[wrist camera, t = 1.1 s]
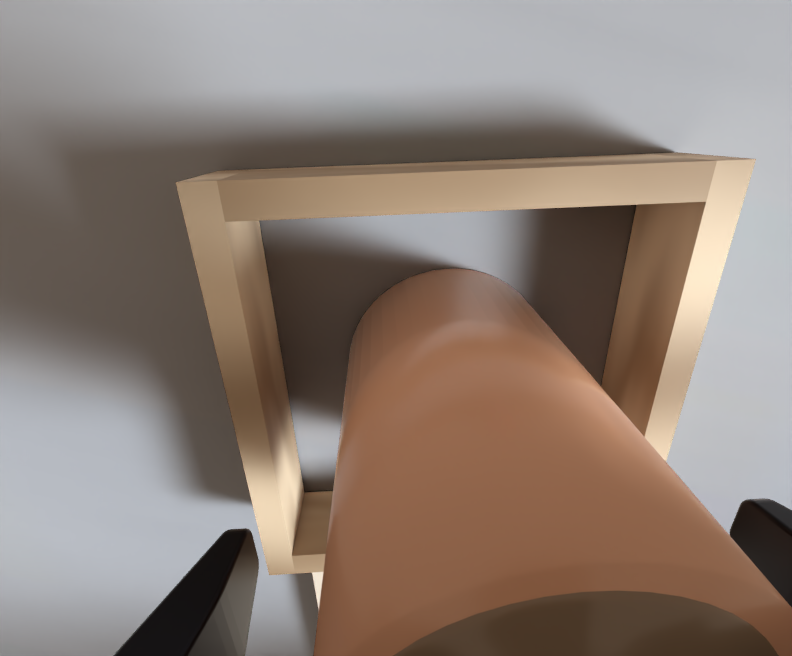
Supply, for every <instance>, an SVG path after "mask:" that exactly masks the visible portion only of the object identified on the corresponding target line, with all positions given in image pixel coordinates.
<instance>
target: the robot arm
mask: <svg viewBox="0 0 792 656" xmlns="http://www.w3.org/2000/svg"><path fill="white" fill-rule="evenodd" d="M730 537H731V538H732V539H733V540H734V541H735V542H736V544H737V545H738V546H739V547H740V548H741V549H742V550H743V552H744V553H745V554H746V555H747V556H748V557H749V559H750V560H751V561H752V562H753V563H754V564H755V566H756V567H757V568H758V569H759V570H760V571H761V572H762V574H763V575H764V576H765V577H766V578H767V579H768V581H769V582H770V583H771V584H772V585H773V586H774V588H775V589H776V590H777V591H778V592H779V593H780V594H781V596H782V597H783V598H784V599H785V600H786V601H787V603H788V604H789V605H790V606H791V607H792V510H790V509H788V508H786V507H784V506H782V505H781V504H779V503H777V502H775V501H773V500H770V499H748V500H745V501H743V502H742V503H741V505H740V507H739V509H738V512H737V514H736V517H735V519H734V521H733V524H732V526H731V529H730ZM258 569H259V562H258V556H257V552H256V548H255V544H254V540H253V536H252V533H251V531H250V530H249V529H230V530H227V531H225V532H224V533H223V534H222V535H221V536H220V537H219V538H218V539H217V541H216V542H215V543H214V544H213V545H212V546H211V547H210V548H209V550H208V551H207V552H206V553H205V554H204V555H203V556H202V557H201V558H200V560H199V561H198V562H197V563H196V564H195V565H194V566H193V567H192V569H191V570H190V571H189V572H188V573H187V574H186V575H185V576H184V577H183V579H182V580H181V581H180V582H179V583H178V584H177V585H176V586H175V588H174V589H173V590H172V591H171V592H170V593H169V594H168V595H167V596H166V598H165V599H164V600H163V601H162V602H161V603H160V604H159V605H158V607H157V608H156V609H155V610H154V611H153V612H152V613H151V614H150V615H149V617H148V618H147V619H146V620H145V621H144V622H143V623H142V624H141V626H140V627H139V628H138V629H137V630H136V631H135V632H134V633H133V634H132V636H131V637H130V638H129V639H128V640H127V641H126V642H125V643H124V645H123V646H122V647H121V648H120V649H119V650H118V651H117V652H116V653H115V655H114V656H245V651H246V645H247V639H248V632H249V626H250V620H251V614H252V608H253V602H254V595H255V589H256V583H257V577H258Z"/></svg>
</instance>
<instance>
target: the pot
mask: <svg viewBox="0 0 792 656" xmlns="http://www.w3.org/2000/svg"><path fill="white" fill-rule="evenodd" d="M313 656H792V607H791V606H790V605H789V604H788V603H787V601H786V600H785V599H784V598H783V597H782V596H781V594H780V593H779V592H778V591H777V590H776V589H775V588H774V586H773V585H772V584H771V583H770V582H769V581H768V579H767V578H766V577H765V576H764V575H763V574H762V572H761V571H760V570H759V569H758V568H757V567H756V566H755V564H754V563H753V562H752V561H751V560H750V559H749V557H748V556H747V555H746V554H745V553H744V552H743V550H742V549H741V548H740V547H739V546H738V545H737V544H736V542H735V541H734V540H733V539H732V538H731V537H730V535H729V534H728V533H727V532H726V531H725V530H724V528H723V527H722V526H721V525H720V524H719V523H718V522H717V520H716V519H715V518H714V517H713V516H712V515H711V513H710V512H709V511H708V510H707V509H706V508H705V507H704V505H703V504H702V503H701V502H700V501H699V500H698V498H697V497H696V496H695V495H694V494H693V493H692V491H691V490H690V489H689V488H688V487H687V486H686V485H685V483H684V482H683V481H682V480H681V479H680V478H679V476H678V475H677V474H676V473H675V472H674V471H673V469H672V468H671V467H670V466H669V465H668V464H667V463H666V461H665V460H664V459H663V458H662V457H661V456H660V454H659V453H658V452H657V451H656V450H655V449H654V447H653V446H652V445H651V444H650V443H649V442H648V441H647V439H646V438H645V437H644V436H643V435H642V434H641V432H640V431H639V430H638V429H637V428H636V427H635V425H634V424H633V423H632V422H631V421H630V420H629V419H628V417H627V416H626V415H625V414H624V413H623V412H622V410H621V409H620V408H619V407H618V406H617V405H616V404H615V402H614V401H613V400H612V399H611V398H610V397H609V395H608V394H607V393H606V392H605V391H604V390H603V388H602V387H601V386H600V385H599V384H598V383H597V382H596V380H595V379H594V378H593V377H592V376H591V375H590V373H589V372H588V371H587V370H586V369H585V368H584V366H583V365H582V364H581V363H580V362H579V361H578V360H577V358H576V357H575V356H574V355H573V354H572V353H571V351H570V350H569V349H568V348H567V347H566V346H565V344H564V343H563V342H562V341H561V340H560V339H559V338H558V336H557V335H556V334H555V333H554V332H553V331H552V329H551V328H550V327H549V326H548V325H547V324H546V322H545V321H544V320H543V319H542V318H541V317H540V316H539V314H538V313H537V312H536V311H535V310H534V309H533V307H532V306H531V305H530V304H529V303H528V302H527V301H526V299H525V298H524V297H523V296H522V295H521V294H520V293H519V292H518V291H516V290H515V289H514V288H513V287H511V286H510V285H509V284H507V283H505V282H504V281H502V280H500V279H498V278H496V277H494V276H491V275H489V274H486V273H482V272H478V271H474V270H468V269H459V268H456V269H439V270H432V271H428V272H424V273H420V274H417V275H414V276H412V277H410V278H407V279H405V280H403V281H401V282H399V283H398V284H396V285H394V286H392V287H391V288H390V289H388V290H387V291H386V292H384V293H383V294H382V295H381V296H379V297H378V298H377V299H376V300H375V301H374V302H373V303H372V304H371V306H370V307H369V308H368V310H367V311H366V312H365V313H364V315H363V317H362V318H361V320H360V322H359V323H358V325H357V328H356V330H355V333H354V335H353V339H352V343H351V347H350V355H349V363H348V371H347V380H346V388H345V396H344V405H343V413H342V421H341V430H340V438H339V446H338V455H337V463H336V471H335V480H334V488H333V496H332V505H331V513H330V521H329V530H328V538H327V546H326V555H325V563H324V571H323V580H322V588H321V596H320V605H319V613H318V621H317V630H316V638H315V646H314V655H313Z"/></svg>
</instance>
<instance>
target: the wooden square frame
mask: <svg viewBox="0 0 792 656" xmlns="http://www.w3.org/2000/svg"><path fill="white" fill-rule="evenodd" d="M755 161H756V159H748V158H736V157H725V156H713V155H701V154H689V153H654V154H628V155H603V156H578V157H553V158H527V159H502V160H477V161H451V162H426V163H401V164H376V165H350V166H325V167H300V168H275V169H249V170H224V171H215V172H212V173H208V174H204V175H201V176H197V177H193V178H190V179H186V180H183V181H179V182H176V186H177V190H178V195H179V199H180V203H181V207H182V211H183V216H184V220H185V224H186V228H187V232H188V236H189V241H190V245H191V249H192V253H193V257H194V262H195V266H196V270H197V274H198V278H199V283H200V287H201V291H202V295H203V299H204V304H205V308H206V312H207V316H208V320H209V324H210V329H211V333H212V337H213V341H214V345H215V350H216V354H217V358H218V362H219V366H220V371H221V375H222V379H223V383H224V387H225V391H226V396H227V400H228V404H229V408H230V412H231V417H232V421H233V425H234V429H235V433H236V438H237V442H238V446H239V450H240V454H241V458H242V463H243V467H244V471H245V475H246V479H247V484H248V488H249V492H250V496H251V500H252V505H253V509H254V513H255V517H256V521H257V525H258V530H259V534H260V538H261V542H262V546H263V551H264V555H265V559H266V563H267V567H268V572H269V575H279V574H295V573H312V572H323V571H324V563H325V555H326V546H327V538H328V530H329V521H330V513H331V505H332V496H333V491H321V492H304V487H303V481H302V475H301V469H300V463H299V457H298V451H297V445H296V439H295V433H294V427H293V421H292V415H291V409H290V403H289V397H288V391H287V385H286V379H285V373H284V367H283V361H282V355H281V349H280V343H279V337H278V331H277V325H276V319H275V313H274V307H273V301H272V295H271V289H270V283H269V277H268V271H267V265H266V259H265V253H264V247H263V241H262V235H261V229H260V223H259V220H282V219H306V218H329V217H353V216H377V215H400V214H424V213H448V212H472V211H495V210H519V209H543V208H566V207H590V206H614V205H637V206H636V211H635V216H634V221H633V226H632V231H631V236H630V241H629V246H628V251H627V257H626V262H625V267H624V272H623V277H622V282H621V287H620V292H619V297H618V302H617V307H616V312H615V318H614V323H613V328H612V333H611V338H610V343H609V348H608V353H607V358H606V363H605V368H604V373H603V379H602V384H601V387H602V388H603V390H604V391H605V392H606V393H607V394H608V395H609V397H610V398H611V399H612V400H613V401H614V402H615V404H616V405H617V406H618V407H619V408H620V409H621V410H622V412H623V413H624V414H625V415H626V416H627V417H628V419H629V420H630V421H631V422H632V423H633V424H634V425H635V427H636V428H637V429H638V430H639V431H640V432H641V434H642V435H643V436H644V437H645V438H646V439H647V441H648V442H649V443H650V444H651V445H652V446H653V447H654V449H655V450H656V451H657V452H658V453H659V454H660V456H661V457H662V458H663V459H664V460H665V461H666V460H667V456H668V453H669V450H670V446H671V443H672V440H673V436H674V433H675V429H676V426H677V423H678V419H679V416H680V413H681V409H682V406H683V403H684V399H685V396H686V393H687V389H688V386H689V382H690V379H691V376H692V372H693V369H694V366H695V362H696V359H697V356H698V352H699V349H700V346H701V342H702V339H703V335H704V332H705V329H706V325H707V322H708V319H709V315H710V312H711V309H712V305H713V302H714V298H715V295H716V292H717V288H718V285H719V282H720V278H721V275H722V272H723V268H724V265H725V262H726V258H727V255H728V251H729V248H730V245H731V241H732V238H733V235H734V231H735V228H736V225H737V221H738V218H739V215H740V211H741V208H742V204H743V201H744V198H745V194H746V191H747V188H748V184H749V181H750V178H751V174H752V171H753V168H754V164H755Z"/></svg>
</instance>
